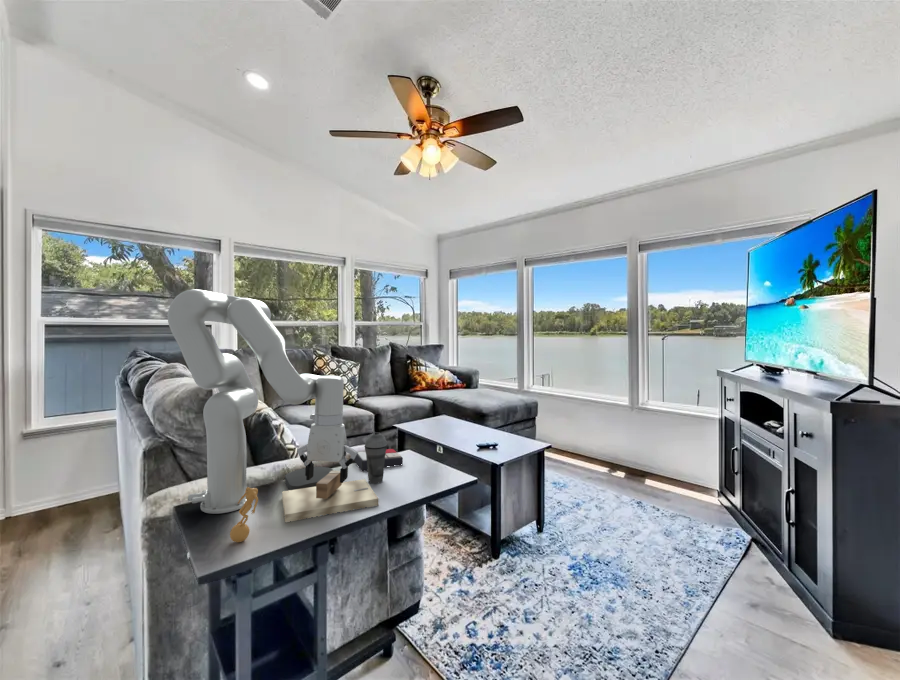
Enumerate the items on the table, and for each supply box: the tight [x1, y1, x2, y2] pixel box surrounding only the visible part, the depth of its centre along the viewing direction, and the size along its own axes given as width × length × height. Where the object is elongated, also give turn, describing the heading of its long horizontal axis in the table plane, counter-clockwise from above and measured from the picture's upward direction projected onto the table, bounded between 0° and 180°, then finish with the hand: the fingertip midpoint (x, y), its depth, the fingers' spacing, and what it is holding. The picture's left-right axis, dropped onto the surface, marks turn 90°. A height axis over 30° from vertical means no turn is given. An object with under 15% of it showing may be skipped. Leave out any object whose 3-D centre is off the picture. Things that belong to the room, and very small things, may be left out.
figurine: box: [229, 486, 259, 543], centre depth 92 cm, size 8×6×12 cm
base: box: [281, 478, 379, 523], centre depth 114 cm, size 24×18×2 cm
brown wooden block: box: [316, 469, 342, 499], centre depth 113 cm, size 10×3×5 cm, turn 172°
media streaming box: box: [284, 466, 334, 491], centre depth 128 cm, size 15×15×3 cm
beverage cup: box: [363, 419, 388, 485], centre depth 129 cm, size 7×7×20 cm
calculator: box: [354, 448, 404, 472], centre depth 147 cm, size 11×4×15 cm
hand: (326, 479), depth 113 cm, fingers open, 9 cm apart
